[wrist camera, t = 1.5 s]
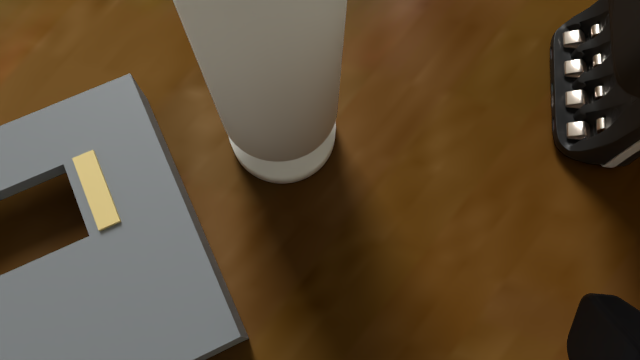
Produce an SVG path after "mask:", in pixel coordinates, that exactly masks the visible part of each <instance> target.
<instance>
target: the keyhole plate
mask: <svg viewBox="0 0 640 360" xmlns="http://www.w3.org/2000/svg"><path fill="white" fill-rule="evenodd" d="M66 172H67V175H68V178H69V181H70V184H71V186H72V189H73V192H74V195H75V197H76V200H77V203H78V206H79V209H80V211H81V214H82V217H83V220H84V222H85V225H86V228H87V231H88V233H89V236H88V237H86V238H84V239H81V240H79V241H77V242H75V243H72V244H70V245H68V246H66V247H63V248H61V249H59V250H57V251H54V252H52V253H50V254H48V255H45V256H43V257H41V258H39V259H36V260H34V261H32V262H30V263H27V264H25V265H23V266H21V267H18V268H16V269H14V270H12V271H9V272H7V273H5V274H3V275H0V360H206V359H208V358H210V357H212V356H214V355H216V354H218V353H220V352H222V351H224V350H226V349H228V348H230V347H232V346H234V345H236V344H238V343H240V342H243V341H245V340H247V339H249V337H248V335H247V333H246V330H245V328H244V326H243V323H242V321H241V319H240V316H239V314H238V312H237V309H236V307H235V304H234V302H233V300H232V297H231V295H230V293H229V290H228V288H227V286H226V283H225V281H224V279H223V276H222V274H221V272H220V269H219V267H218V264H217V262H216V260H215V257H214V255H213V253H212V250H211V248H210V246H209V243H208V241H207V239H206V236H205V234H204V232H203V229H202V227H201V224H200V222H199V220H198V217H197V215H196V213H195V210H194V208H193V206H192V203H191V201H190V199H189V196H188V194H187V192H186V189H185V187H184V184H183V182H182V180H181V177H180V175H179V173H178V170H177V168H176V166H175V163H174V161H173V159H172V156H171V154H170V152H169V149H168V147H167V144H166V142H165V140H164V137H163V135H162V133H161V130H160V128H159V126H158V123H157V121H156V119H155V116H154V114H153V112H152V109H151V107H150V104H149V102H148V100H147V98H146V97H145V95H144V94H143V92H142V91H141V89H140V88H139V86H138V85H137V83H136V81H135V80H134V78H133V77H132V75H131V74H127V75H125V76H122V77H120V78H117V79H115V80H112V81H110V82H108V83H105V84H103V85H100V86H98V87H95V88H93V89H90V90H88V91H85V92H83V93H80V94H78V95H75V96H73V97H71V98H68V99H66V100H63V101H61V102H58V103H56V104H53V105H51V106H48V107H46V108H43V109H41V110H39V111H36V112H34V113H31V114H29V115H26V116H24V117H21V118H19V119H16V120H14V121H11V122H9V123H7V124H4V125H2V126H0V200H2V199H5V198H7V197H10V196H12V195H14V194H17V193H19V192H21V191H24V190H26V189H28V188H31V187H33V186H35V185H38V184H40V183H43V182H45V181H47V180H50V179H52V178H54V177H57V176H59V175H61V174H64V173H66Z"/></svg>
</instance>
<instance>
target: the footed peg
mask: <svg viewBox="0 0 640 360" xmlns="http://www.w3.org/2000/svg"><path fill="white" fill-rule="evenodd" d="M173 2H174V4H175V7H176V9H177V12H178V14H179V17H180V19H181V22H182V24H183V27H184V29H185V32H186V34H187V37H188V39H189V42H190V44H191V47H192V49H193V52H194V54H195V56H196V59H197V61H198V64H199V66H200V69H201V71H202V74H203V76H204V79H205V81H206V84H207V86H208V89H209V91H210V94H211V96H212V99H213V101H214V104H215V106H216V109H217V111H218V114H219V116H220V118H221V121H222V123H223V126H224V128H225V130H226V133H227V134H228V136H229V140H230V143H231V146H232V148H233V151H234V153H235V155H236V157H237V159H238V161H239V162H240V164H241V165H242V166H243V167H244V168H245V169H246V170H247V171H248V172H249V173H251V174H252V175H253V176H255V177H257V178H259V179H261V180H264V181H267V182H271V183H278V184H287V183H294V182H298V181H301V180H303V179H306V178H308V177H310V176H311V175H313V174H314V173H316V172H317V171H318V170H319V169H320V168H321V167H322V166H323V165H324V164H325V163H326V161H327V160H328V158H329V156H330V155H331V152H332V150H333V146H334V142H335V132H336V117H337V109H338V98H339V86H340V75H341V64H342V52H343V41H344V29H345V18H346V7H347V0H173Z"/></svg>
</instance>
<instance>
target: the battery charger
mask: <svg viewBox="0 0 640 360" xmlns="http://www.w3.org/2000/svg"><path fill="white" fill-rule="evenodd" d="M550 74H551V107H552V130H553V137H554V142H555V145H556V146H557V148H558V149H559V150H560V151H561V152H562V153H563V154H564V155H566V156H568V157H570V158H572V159H574V160H578V161H582V162H585V163H589V164H600V165H601V166H602V167H609V168H613V167H616V166H626V165H628V164H630V163H631V162H633V161H634V160H636V159H637V158H639V157H640V0H598V1H597V2H596V3H595V4H593V5H592V6H591V7H589V8H588V9H586V10H584V11H583V12H581V13H579V14H578V15H576V16H574V17H573V18H572V19H570V20H569V21H567V22H566V23H565V24H563V25H562V26H561V27H560V28H559V29H558V30H557V31H556V32H555V33H554V35H553V37H552V40H551V46H550Z"/></svg>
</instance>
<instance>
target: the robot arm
mask: <svg viewBox="0 0 640 360" xmlns="http://www.w3.org/2000/svg"><path fill="white" fill-rule="evenodd" d="M567 352H568V357H569V360H640V311H639V310H638V309H636V308H634V307H633V306H631V305H630V304H628V303H627V302H625V301H624V300H622V299H621V298H619V297H617V296H614V295H605V294H593V293H589V294H586V295H585V296H583V298H582V299H581V301H580V303H579V306H578V309H577V312H576V315H575V318H574V320H573V323H572V326H571V329H570V332H569V335H568V339H567Z"/></svg>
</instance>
